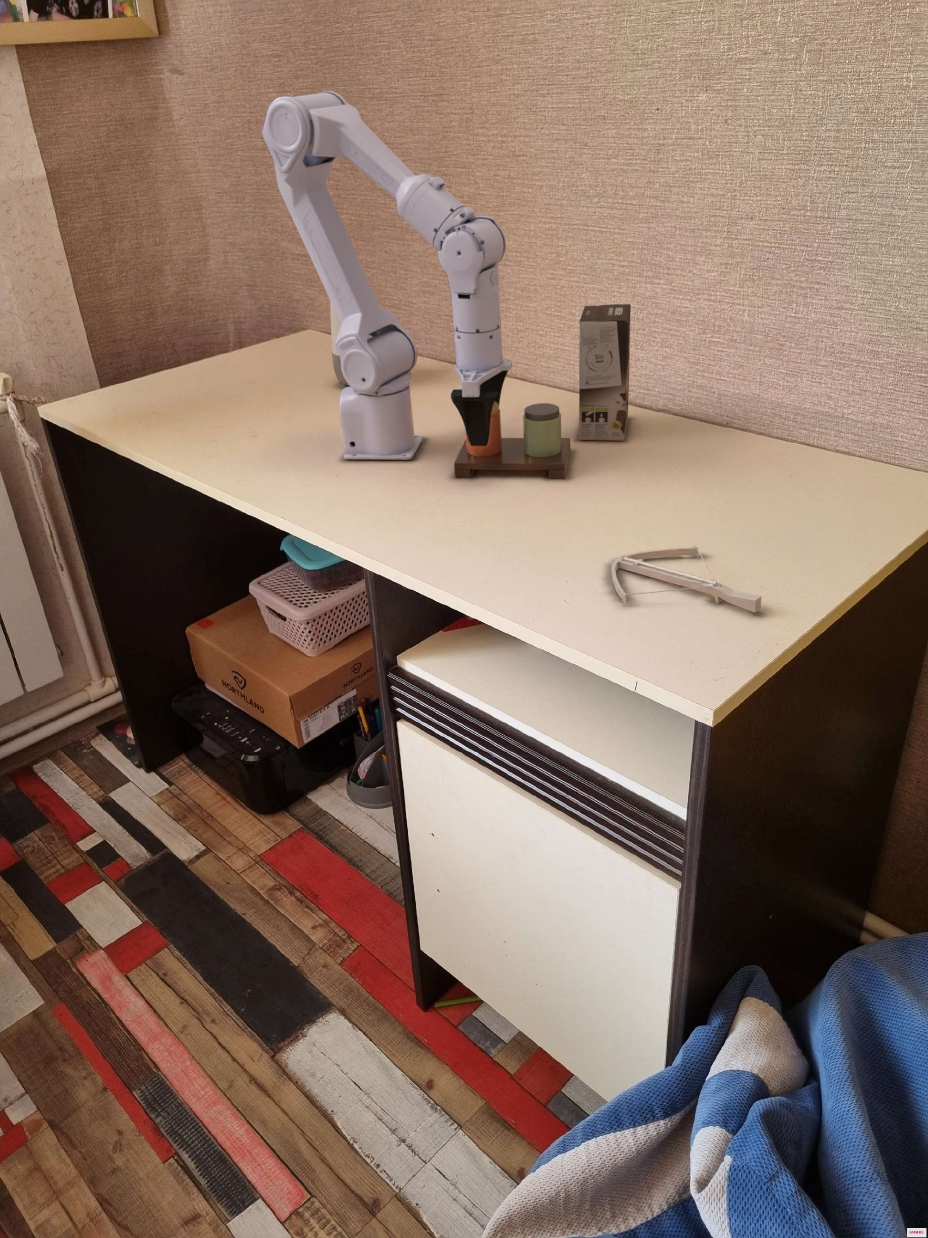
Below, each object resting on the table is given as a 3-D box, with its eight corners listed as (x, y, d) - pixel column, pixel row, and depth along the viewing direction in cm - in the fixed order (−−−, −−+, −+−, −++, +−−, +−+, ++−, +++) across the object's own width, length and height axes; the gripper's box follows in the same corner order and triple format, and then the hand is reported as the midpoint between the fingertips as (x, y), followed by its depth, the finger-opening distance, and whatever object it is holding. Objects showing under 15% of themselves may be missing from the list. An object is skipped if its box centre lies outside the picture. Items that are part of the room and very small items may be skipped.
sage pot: (521, 457, 120) (520, 415, 117) (526, 443, 124) (525, 402, 121) (559, 457, 119) (559, 415, 116) (563, 443, 123) (562, 402, 120)
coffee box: (625, 441, 128) (628, 319, 119) (577, 440, 129) (577, 320, 121) (629, 418, 135) (632, 302, 127) (584, 417, 137) (584, 303, 128)
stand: (455, 477, 121) (453, 463, 120) (467, 451, 128) (466, 437, 127) (564, 478, 118) (564, 463, 117) (570, 451, 126) (570, 437, 125)
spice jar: (463, 456, 122) (460, 411, 118) (470, 443, 125) (467, 399, 122) (499, 456, 121) (497, 411, 118) (504, 443, 125) (502, 399, 121)
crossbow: (580, 595, 95) (579, 577, 94) (652, 549, 102) (652, 531, 101) (721, 640, 85) (722, 620, 84) (791, 585, 92) (792, 566, 91)
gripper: (501, 342, 108) (506, 455, 115) (517, 311, 120) (521, 414, 127) (441, 344, 109) (450, 455, 116) (463, 312, 121) (470, 414, 128)
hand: (483, 434), depth 122 cm, fingers open, 7 cm apart
